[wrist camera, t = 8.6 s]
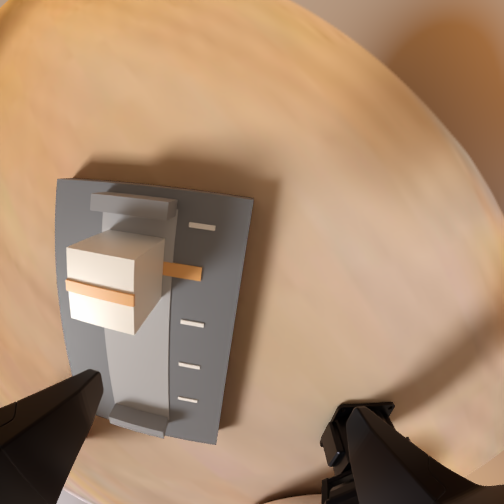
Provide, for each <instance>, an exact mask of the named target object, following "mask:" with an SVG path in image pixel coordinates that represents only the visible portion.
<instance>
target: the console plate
mask: <svg viewBox="0 0 504 504" xmlns="http://www.w3.org/2000/svg"><path fill="white" fill-rule="evenodd" d="M253 201H254V199H253V198H249V197H242V196H236V195H229V194H222V193H215V192H207V191H200V190H192V189H184V188H176V187H167V186H158V185H149V184H139V183H129V182H117V181H105V180H92V179H77V178H66V179H57V190H56V208H55V257H56V275H57V288H58V298H59V306H60V314H61V321H62V327H63V333H64V339H65V345H66V350H67V355H68V359H69V364H70V368H71V372H72V376H74V375H77V374H79V373H81V372H83V371H85V370H87V369H94V370H97V371H99V372H100V373H101V377H102V382H103V388H104V392H103V395H102V398H101V401H100V404H99V406H98V409H97V412H96V415H97V416H100V417H103V418H106V419H109V420H110V424H113V425H117V426H120V427H123V428H126V429H129V430H133V431H136V432H140V433H143V434H147V435H151V436H155V437H159V438H163V439H164V436H170V437H174V438H179V439H184V440H189V441H195V442H201V443H207V444H214V445H216V442H217V436H218V429H219V422H220V415H221V408H222V401H223V395H224V388H225V381H226V375H227V368H228V361H229V355H230V348H231V342H232V335H233V329H234V322H235V316H236V309H237V303H238V296H239V290H240V283H241V277H242V271H243V264H244V258H245V251H246V245H247V239H248V233H249V226H250V220H251V214H252V208H253ZM107 230H115V231H122V232H128V233H135V234H141V235H148V236H154V237H161V238H165V247H164V260H163V275H162V294H161V299H160V300H159V301H158V303H157V304H156V306H155V307H154V308H153V310H152V311H151V313H150V314H149V315H148V317H147V318H146V320H145V321H144V322H143V324H142V325H141V327H140V328H139V330H138V331H137V332H136V334H135V335H131V334H127V333H123V332H119V331H115V330H111V329H108V328H104V327H100V326H97V325H93V324H90V323H87V322H83V321H80V320H77V319H73V318H71V312H70V302H69V292H68V291H66V282H65V280H66V279H68V278H67V256H66V247H68V246H70V245H73V244H75V243H77V242H80V241H82V240H85V239H87V238H90V237H92V236H94V235H97V234H99V233H102V232H104V231H107Z"/></svg>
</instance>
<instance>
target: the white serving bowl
mask: <svg viewBox="0 0 504 504" xmlns="http://www.w3.org/2000/svg"><path fill="white" fill-rule="evenodd" d="M321 496H322V494H312V495H302V496H295V497H289V498H283V499H279V500H274V501H270V502H267V503H264V504H321Z"/></svg>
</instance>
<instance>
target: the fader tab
mask: <svg viewBox="0 0 504 504" xmlns="http://www.w3.org/2000/svg"><path fill="white" fill-rule="evenodd" d="M164 247H165V238H161V237H154V236H148V235H141V234H135V233H128V232H122V231H115V230H107V231H104V232H102V233H99V234H97V235H94V236H92V237H90V238H87V239H85V240H82V241H80V242H77V243H75V244H73V245H70V246H68V247H66V256H67V278H68V279H66V280H65V282H66V291H68V292H69V302H70V312H71V318H73V319H77V320H80V321H83V322H87V323H90V324H93V325H97V326H100V327H104V328H108V329H111V330H115V331H119V332H123V333H127V334H131V335H135V334H136V332H137V331H138V330H139V328H140V327H141V325H142V324H143V322H144V321H145V320H146V318H147V317H148V315H149V314H150V313H151V311H152V310H153V308H154V307H155V306H156V304H157V303H158V301H159V300H160V299H161V294H162V275H163V260H164Z"/></svg>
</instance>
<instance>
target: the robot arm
mask: <svg viewBox="0 0 504 504" xmlns="http://www.w3.org/2000/svg"><path fill="white" fill-rule="evenodd" d="M103 392H104V388H103V382H102V377H101V373H100V372H99V371H97V370H94V369H87V370H85V371H83V372H81V373H79V374H77V375H74V376H72V377H70V378H68V379H66V380H64V381H61V382H59V383H57V384H55V385H53V386H50V387H48V388H46V389H44V390H41V391H39V392H37V393H35V394H32V395H30V396H28V397H26V398H23V399H21V400H19V401H17V402H14V403H12V404H9V405H7V406H4V407H2V408H0V504H56V503H57V500H58V498H59V496H60V493H61V491H62V489H63V486H64V484H65V482H66V479H67V477H68V475H69V473H70V470H71V468H72V466H73V464H74V462H75V460H76V457H77V455H78V453H79V451H80V449H81V447H82V445H83V443H84V441H85V438H86V436H87V434H88V432H89V430H90V428H91V426H92V423H93V421H94V418H95V415H96V412H97V409H98V406H99V404H100V401H101V398H102V395H103ZM394 407H395V405H394V403H393V402H385V403H370V404H343V405H340V406H338V408H337V409H336V411H335V413H334V415H333V417H332V419H331V421H330V422H329V423H328V425H327V427H326V429H325V431H324V433H323V435H322V437H321V441H320V446H321V447H324V451H325V455H326V459H327V463H328V466H329V467H333V469H334V473H335V476H334V477H331V478H327V479H324V480H322V496H321V504H504V485H496V486H481V485H477V484H475V483H473V482H471V481H469V480H467V479H466V478H464V477H462V476H460V475H458V474H456V473H455V472H453V471H451V470H450V469H448V468H446V467H445V466H443V465H442V464H440V463H439V462H437V461H436V460H435V459H433V458H432V457H430V456H428V454H426V453H425V452H424V451H422V450H421V449H420V448H418V447H417V446H416V445H414V444H413V443H412V442H411V441H410V439H409V437H406V438H405V437H404V436H402V435H401V434H400V433H399V432H397V431H396V430H395V428H394V426H393V424H392V422H391V420H390V418H389V416H390V414H391V412H392V411H393V409H394Z"/></svg>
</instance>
